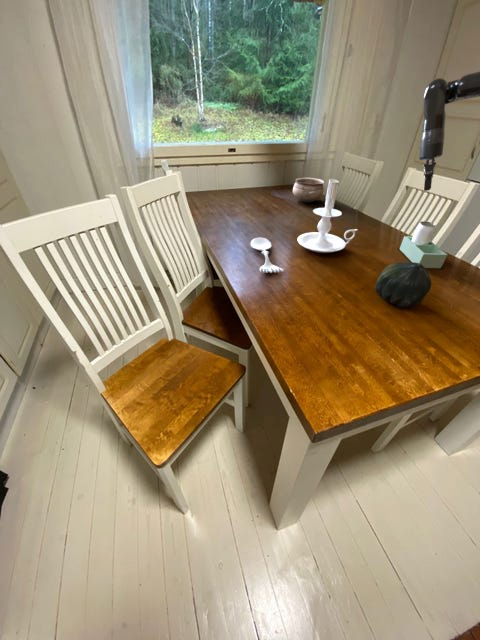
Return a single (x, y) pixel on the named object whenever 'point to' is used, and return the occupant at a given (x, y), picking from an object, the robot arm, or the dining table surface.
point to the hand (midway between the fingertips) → (427, 190)
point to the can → (423, 233)
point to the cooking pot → (308, 189)
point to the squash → (403, 284)
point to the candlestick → (325, 226)
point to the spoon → (263, 246)
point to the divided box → (423, 253)
